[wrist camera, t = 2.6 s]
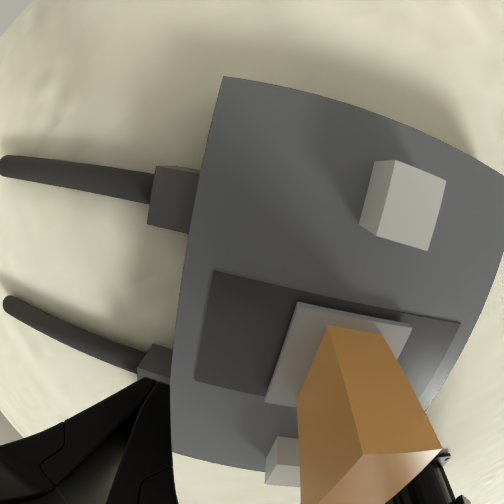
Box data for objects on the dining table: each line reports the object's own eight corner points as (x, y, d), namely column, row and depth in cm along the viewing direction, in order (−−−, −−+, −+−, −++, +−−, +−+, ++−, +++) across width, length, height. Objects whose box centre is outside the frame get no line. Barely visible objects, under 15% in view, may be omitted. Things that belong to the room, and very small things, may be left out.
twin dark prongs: (228, 187, 13) (223, 189, 12) (193, 380, 16) (187, 394, 15) (9, 154, 13) (-5, 155, 12) (12, 306, 17) (1, 313, 15)
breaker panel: (484, 181, 12) (546, 190, 7) (363, 447, 17) (375, 497, 13) (193, 90, 12) (152, 54, 7) (150, 410, 18) (126, 461, 13)
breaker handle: (408, 323, 11) (483, 430, 5) (363, 408, 12) (392, 516, 6) (297, 301, 11) (315, 438, 5) (265, 396, 12) (255, 520, 6)
